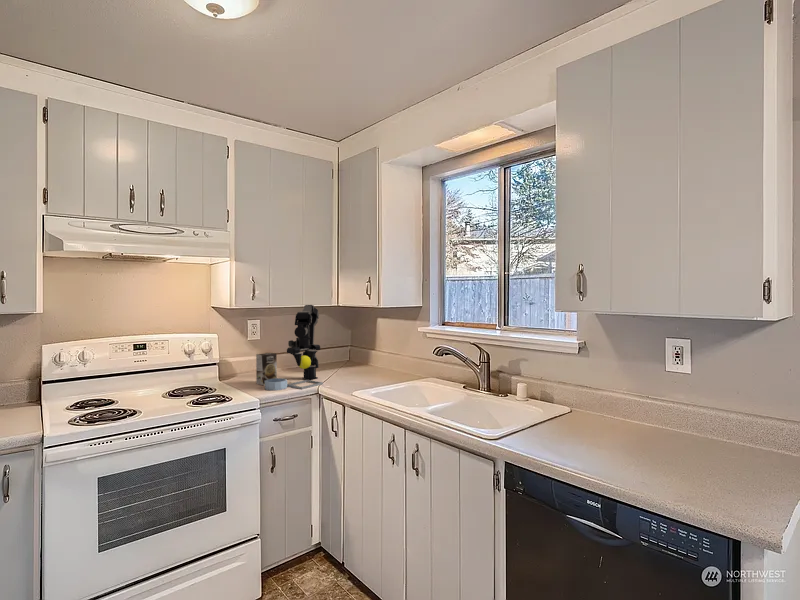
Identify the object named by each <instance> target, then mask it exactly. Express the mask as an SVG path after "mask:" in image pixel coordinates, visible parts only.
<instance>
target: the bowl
mask: <svg viewBox="0 0 800 600" xmlns="http://www.w3.org/2000/svg"><path fill="white" fill-rule="evenodd" d="M287 384H288V379H287V378H281V377H277V378H274V379H267V380H265V385H264V389H265V391H281V390H282V389H283V390H286V389H287V388H288V387H287Z"/></svg>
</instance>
